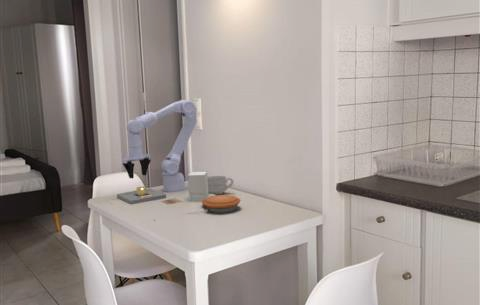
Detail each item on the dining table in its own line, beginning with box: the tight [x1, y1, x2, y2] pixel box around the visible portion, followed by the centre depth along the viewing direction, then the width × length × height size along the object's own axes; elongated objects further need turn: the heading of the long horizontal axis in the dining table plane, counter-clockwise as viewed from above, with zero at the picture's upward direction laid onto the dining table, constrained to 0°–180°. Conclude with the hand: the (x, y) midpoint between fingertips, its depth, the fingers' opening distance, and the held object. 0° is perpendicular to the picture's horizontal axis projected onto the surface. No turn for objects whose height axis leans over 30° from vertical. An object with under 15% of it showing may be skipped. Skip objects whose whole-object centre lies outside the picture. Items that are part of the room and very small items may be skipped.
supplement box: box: [187, 171, 210, 202], centre depth 206 cm, size 7×7×13 cm
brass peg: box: [136, 186, 147, 196], centre depth 212 cm, size 4×4×6 cm
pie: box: [201, 194, 241, 214], centre depth 194 cm, size 15×16×5 cm
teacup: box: [207, 175, 234, 196], centre depth 220 cm, size 14×11×8 cm
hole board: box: [116, 188, 167, 205], centre depth 212 cm, size 16×16×3 cm
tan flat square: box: [160, 198, 184, 205], centre depth 204 cm, size 7×7×2 cm
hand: (137, 176), depth 219 cm, fingers open, 7 cm apart
